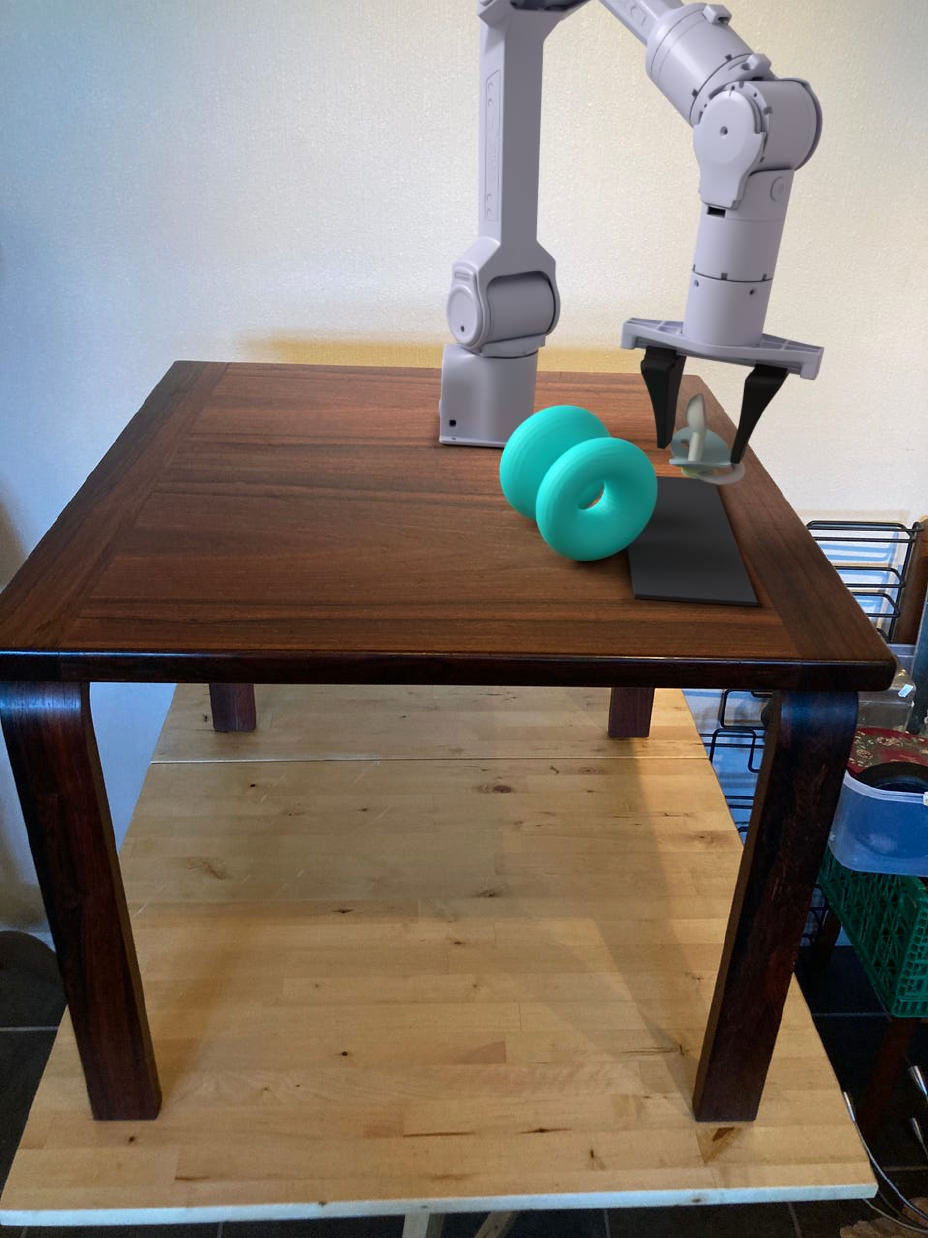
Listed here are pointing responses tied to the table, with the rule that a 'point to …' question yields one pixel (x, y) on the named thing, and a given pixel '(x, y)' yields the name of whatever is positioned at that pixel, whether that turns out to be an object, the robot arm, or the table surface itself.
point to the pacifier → (702, 448)
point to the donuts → (578, 482)
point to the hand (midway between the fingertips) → (700, 451)
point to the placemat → (688, 549)
